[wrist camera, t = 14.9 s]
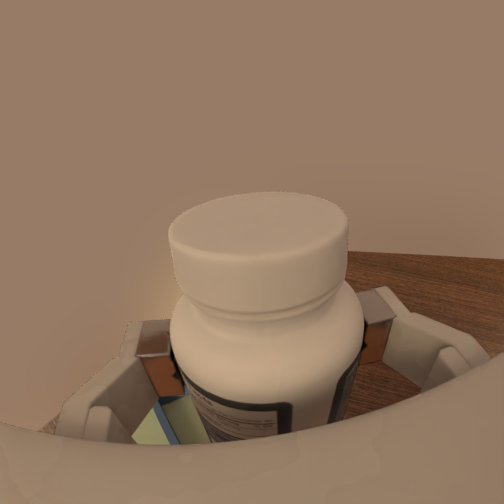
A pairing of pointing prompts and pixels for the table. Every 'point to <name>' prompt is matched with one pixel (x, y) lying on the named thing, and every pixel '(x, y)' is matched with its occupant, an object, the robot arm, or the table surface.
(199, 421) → the dock pad
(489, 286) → the table surface
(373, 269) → the table surface
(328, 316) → the pill bottle
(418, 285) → the table surface
